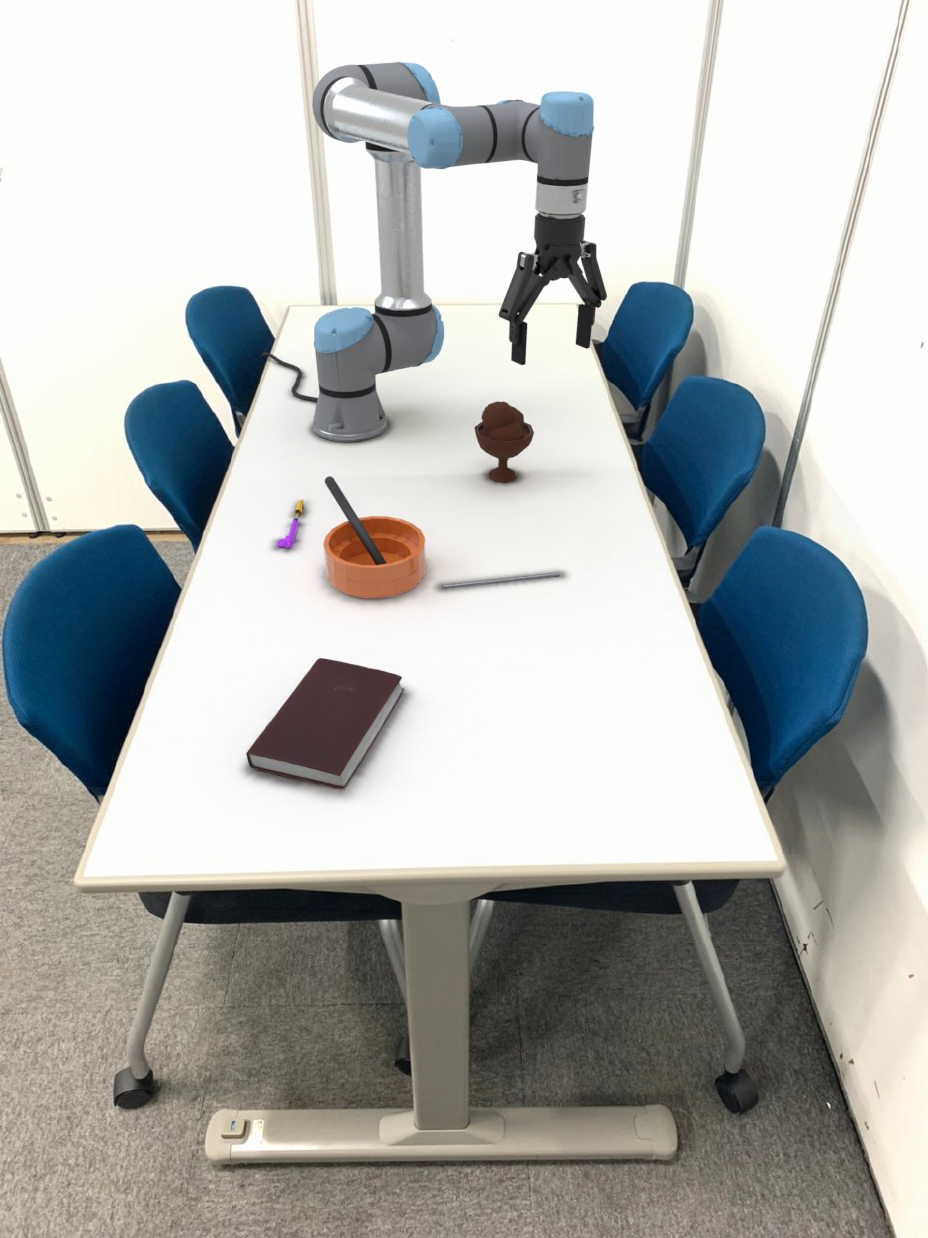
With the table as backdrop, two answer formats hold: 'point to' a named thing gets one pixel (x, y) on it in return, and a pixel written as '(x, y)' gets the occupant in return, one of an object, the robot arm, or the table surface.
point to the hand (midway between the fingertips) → (551, 354)
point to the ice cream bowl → (503, 437)
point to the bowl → (357, 569)
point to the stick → (354, 521)
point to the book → (327, 723)
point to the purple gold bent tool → (290, 538)
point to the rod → (500, 580)
